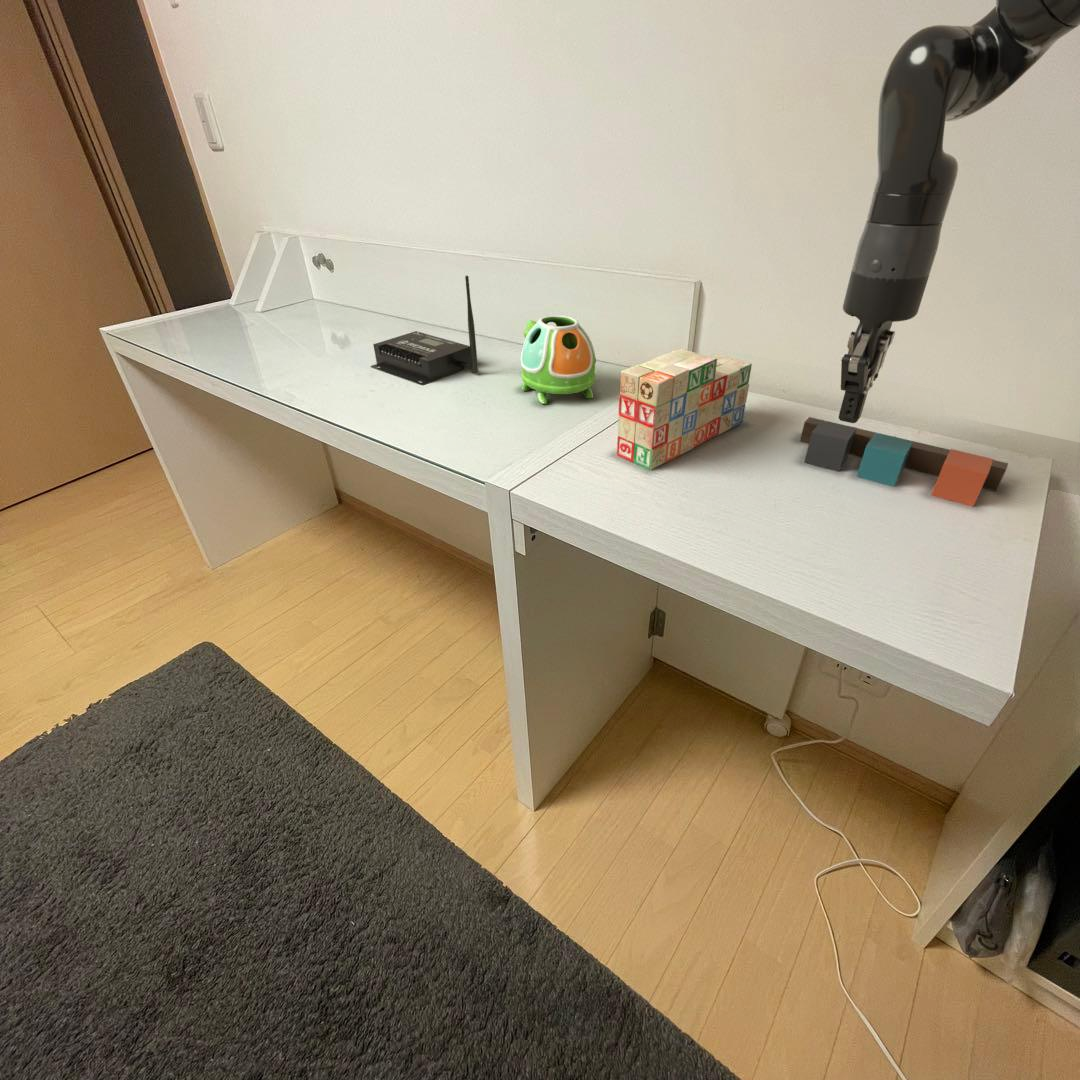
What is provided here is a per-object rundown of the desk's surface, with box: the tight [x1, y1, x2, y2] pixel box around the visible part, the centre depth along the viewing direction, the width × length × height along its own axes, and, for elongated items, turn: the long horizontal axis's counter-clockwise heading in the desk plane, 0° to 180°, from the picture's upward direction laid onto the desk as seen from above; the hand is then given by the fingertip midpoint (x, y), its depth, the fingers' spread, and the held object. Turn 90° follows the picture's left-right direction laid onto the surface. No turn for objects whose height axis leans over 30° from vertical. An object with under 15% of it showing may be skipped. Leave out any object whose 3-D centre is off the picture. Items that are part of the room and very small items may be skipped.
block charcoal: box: [804, 419, 858, 472], centre depth 81 cm, size 4×4×4 cm
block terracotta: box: [930, 448, 995, 508], centre depth 74 cm, size 4×4×4 cm
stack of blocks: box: [616, 348, 753, 471], centre depth 85 cm, size 21×6×12 cm, turn 131°
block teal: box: [856, 432, 914, 488], centre depth 78 cm, size 4×4×4 cm
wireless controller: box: [369, 275, 479, 386], centre depth 111 cm, size 20×14×17 cm
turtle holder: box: [520, 314, 597, 405], centre depth 103 cm, size 12×18×12 cm
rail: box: [799, 416, 1009, 492], centre depth 81 cm, size 24×2×3 cm, turn 52°
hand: (848, 419), depth 75 cm, fingers closed
